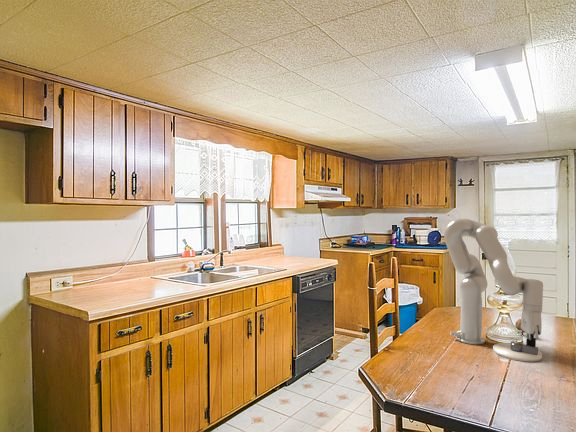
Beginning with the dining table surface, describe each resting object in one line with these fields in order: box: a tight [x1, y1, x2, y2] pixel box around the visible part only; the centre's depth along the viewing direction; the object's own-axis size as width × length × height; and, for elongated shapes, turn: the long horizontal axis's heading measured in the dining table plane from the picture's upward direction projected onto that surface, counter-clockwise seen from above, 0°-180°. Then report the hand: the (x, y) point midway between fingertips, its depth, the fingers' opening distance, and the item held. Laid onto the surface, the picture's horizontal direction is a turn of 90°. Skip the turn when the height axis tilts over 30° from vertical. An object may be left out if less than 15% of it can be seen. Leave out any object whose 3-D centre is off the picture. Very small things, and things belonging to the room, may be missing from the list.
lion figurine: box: [515, 318, 526, 337], centre depth 207 cm, size 15×5×9 cm, turn 153°
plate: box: [492, 342, 543, 363], centre depth 178 cm, size 19×19×2 cm
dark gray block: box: [510, 340, 539, 355], centre depth 176 cm, size 10×5×3 cm, turn 45°
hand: (530, 348), depth 178 cm, fingers closed
